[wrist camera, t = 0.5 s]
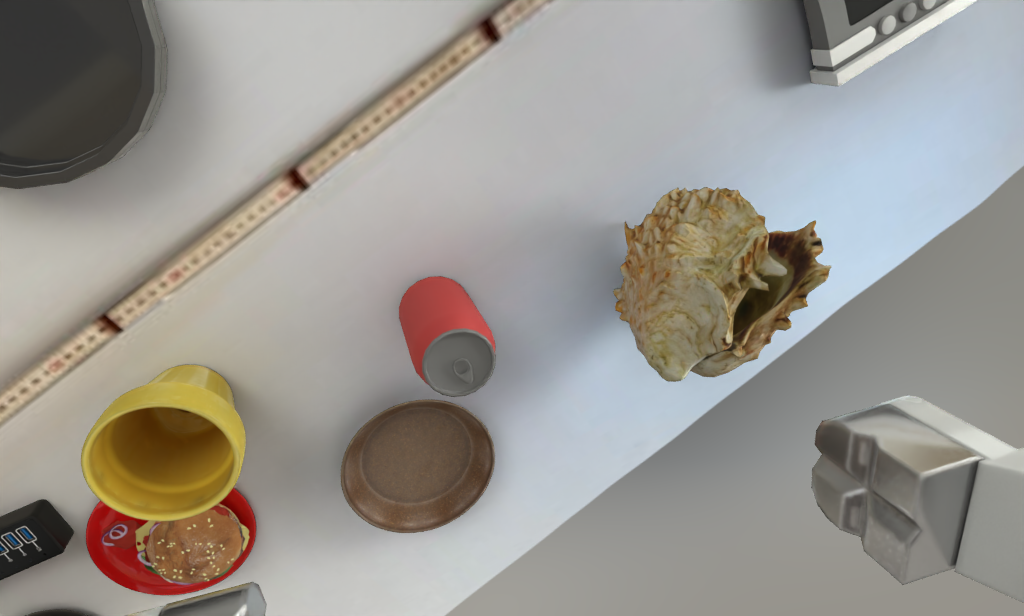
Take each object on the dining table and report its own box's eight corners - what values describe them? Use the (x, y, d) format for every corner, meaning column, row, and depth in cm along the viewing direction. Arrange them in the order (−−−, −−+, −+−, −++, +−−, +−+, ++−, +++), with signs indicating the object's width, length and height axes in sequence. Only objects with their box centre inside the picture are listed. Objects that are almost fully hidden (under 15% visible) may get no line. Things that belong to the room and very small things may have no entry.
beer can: (419, 353, 57) (440, 418, 46) (384, 296, 54) (398, 351, 43) (480, 319, 58) (516, 376, 47) (449, 261, 55) (479, 307, 44)
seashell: (905, 264, 45) (763, 144, 41) (749, 446, 48) (603, 351, 44) (777, 222, 62) (668, 134, 58) (668, 359, 65) (557, 285, 61)
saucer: (417, 358, 57) (421, 371, 55) (517, 443, 64) (524, 458, 61) (306, 465, 58) (305, 482, 55) (416, 538, 64) (419, 556, 62)
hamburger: (176, 439, 53) (159, 480, 48) (288, 527, 60) (284, 572, 54) (48, 536, 53) (17, 588, 48) (174, 615, 60) (159, 669, 54)
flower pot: (165, 469, 54) (134, 546, 45) (95, 376, 50) (45, 441, 41) (276, 420, 55) (266, 485, 47) (217, 325, 51) (194, 377, 42)
